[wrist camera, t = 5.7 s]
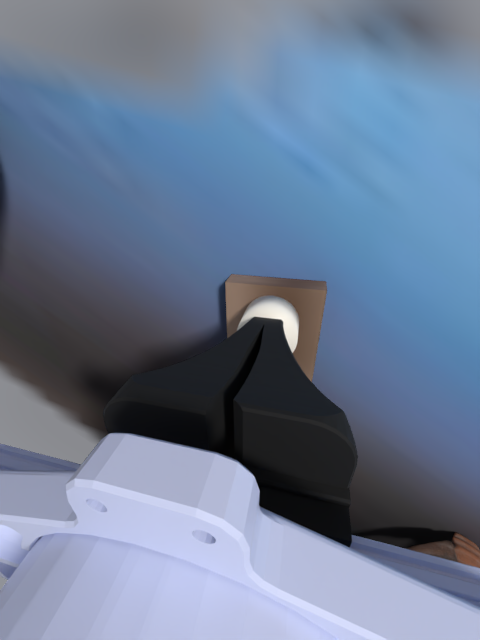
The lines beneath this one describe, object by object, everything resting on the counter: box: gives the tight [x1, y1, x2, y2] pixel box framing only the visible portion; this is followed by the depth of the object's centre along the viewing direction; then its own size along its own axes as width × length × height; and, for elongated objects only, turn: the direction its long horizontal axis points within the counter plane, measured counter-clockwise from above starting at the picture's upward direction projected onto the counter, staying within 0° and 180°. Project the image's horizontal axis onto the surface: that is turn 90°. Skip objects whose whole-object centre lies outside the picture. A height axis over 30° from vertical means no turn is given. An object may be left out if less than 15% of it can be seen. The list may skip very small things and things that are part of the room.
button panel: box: [225, 274, 327, 382], centre depth 16 cm, size 5×11×1 cm, turn 0°
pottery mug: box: [404, 532, 480, 568], centre depth 21 cm, size 12×10×8 cm
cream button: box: [237, 296, 299, 353], centre depth 13 cm, size 3×3×2 cm
